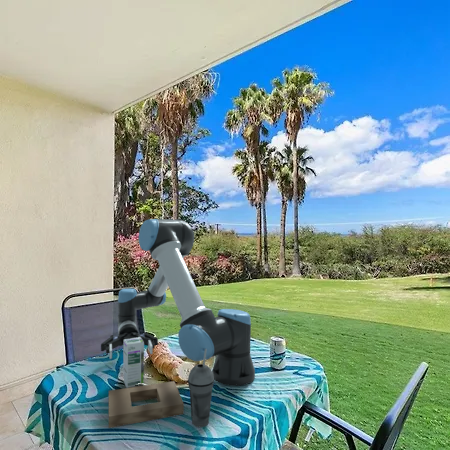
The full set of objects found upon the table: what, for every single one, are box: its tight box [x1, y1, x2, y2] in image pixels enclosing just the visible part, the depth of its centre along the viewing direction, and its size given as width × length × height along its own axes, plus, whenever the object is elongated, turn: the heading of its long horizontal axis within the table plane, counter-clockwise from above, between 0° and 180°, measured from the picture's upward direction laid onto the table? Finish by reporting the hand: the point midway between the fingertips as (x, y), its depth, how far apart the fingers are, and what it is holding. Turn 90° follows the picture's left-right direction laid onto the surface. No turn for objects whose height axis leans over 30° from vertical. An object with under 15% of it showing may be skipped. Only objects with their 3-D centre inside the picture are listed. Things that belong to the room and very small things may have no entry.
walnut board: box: [108, 380, 185, 429], centre depth 97 cm, size 20×14×3 cm
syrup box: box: [122, 337, 145, 388], centre depth 112 cm, size 6×6×14 cm
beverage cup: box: [187, 349, 215, 428], centre depth 91 cm, size 7×7×20 cm
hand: (131, 352), depth 115 cm, fingers open, 13 cm apart
